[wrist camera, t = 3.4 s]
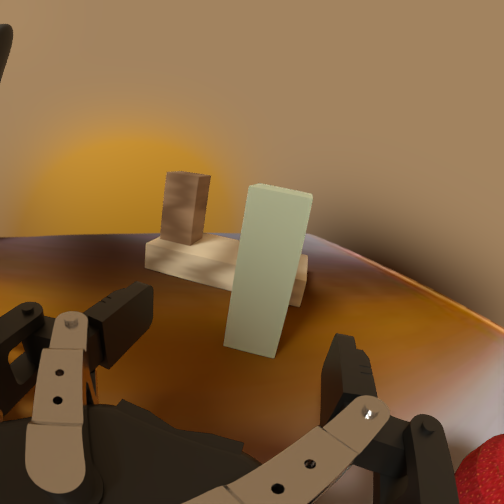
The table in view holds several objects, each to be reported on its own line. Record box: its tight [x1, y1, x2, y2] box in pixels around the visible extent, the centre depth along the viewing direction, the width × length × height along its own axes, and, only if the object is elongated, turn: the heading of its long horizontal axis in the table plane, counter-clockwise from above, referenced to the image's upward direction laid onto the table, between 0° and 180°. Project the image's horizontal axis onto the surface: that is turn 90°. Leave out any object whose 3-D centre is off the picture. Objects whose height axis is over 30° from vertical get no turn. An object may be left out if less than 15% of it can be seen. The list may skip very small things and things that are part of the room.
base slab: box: [145, 171, 308, 307], centre depth 33 cm, size 18×9×11 cm, turn 79°
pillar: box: [223, 183, 313, 358], centre depth 21 cm, size 4×4×12 cm
